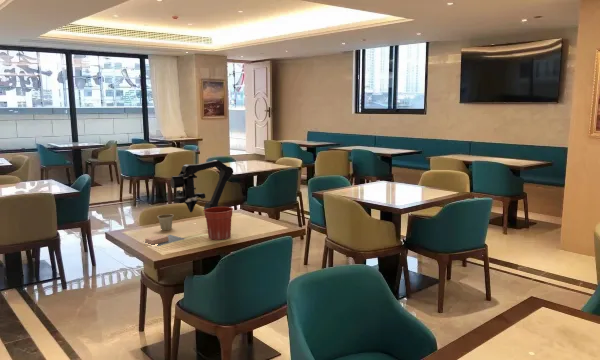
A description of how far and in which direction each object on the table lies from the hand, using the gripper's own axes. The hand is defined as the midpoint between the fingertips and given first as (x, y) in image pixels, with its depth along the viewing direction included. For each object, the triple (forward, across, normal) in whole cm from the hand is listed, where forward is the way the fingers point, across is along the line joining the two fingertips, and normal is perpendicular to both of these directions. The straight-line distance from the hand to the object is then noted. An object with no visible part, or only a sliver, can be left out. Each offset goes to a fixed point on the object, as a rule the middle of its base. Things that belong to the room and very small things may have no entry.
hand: (191, 212), depth 290 cm
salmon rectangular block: (+10, +21, +3) cm, 24 cm away
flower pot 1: (+12, +6, -18) cm, 22 cm away
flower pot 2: (+12, -1, +23) cm, 26 cm away
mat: (+12, +23, +3) cm, 26 cm away
